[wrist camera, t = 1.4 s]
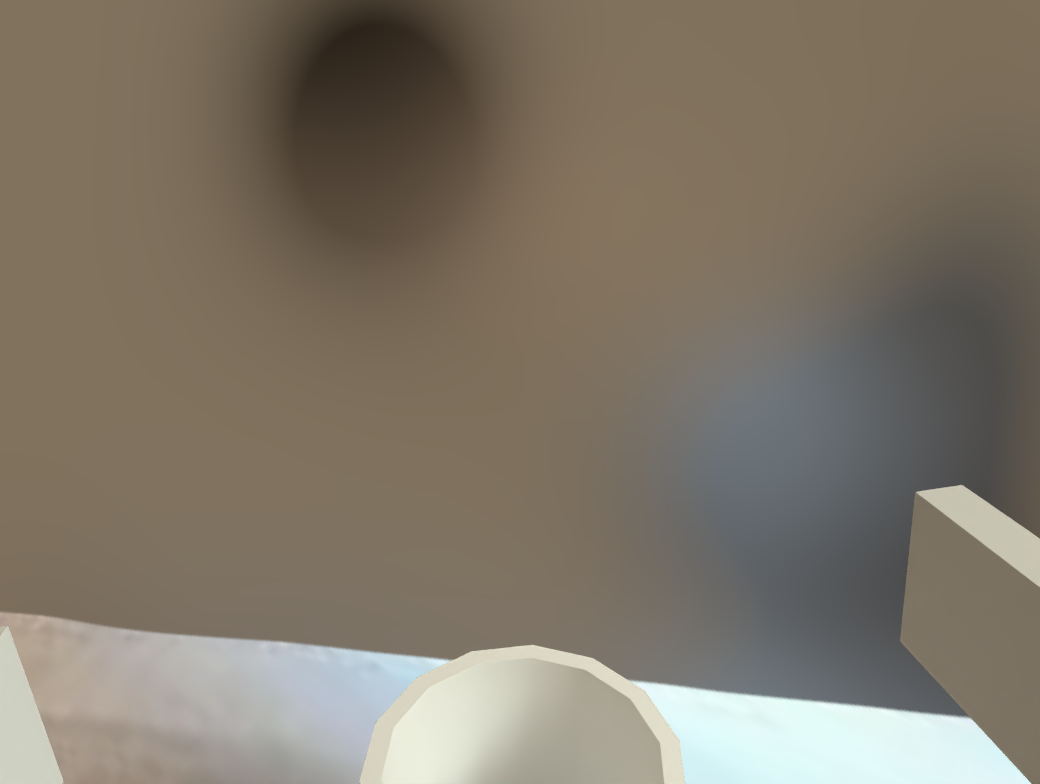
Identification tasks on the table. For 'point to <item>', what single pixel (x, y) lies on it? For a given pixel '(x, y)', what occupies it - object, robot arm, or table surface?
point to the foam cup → (523, 725)
